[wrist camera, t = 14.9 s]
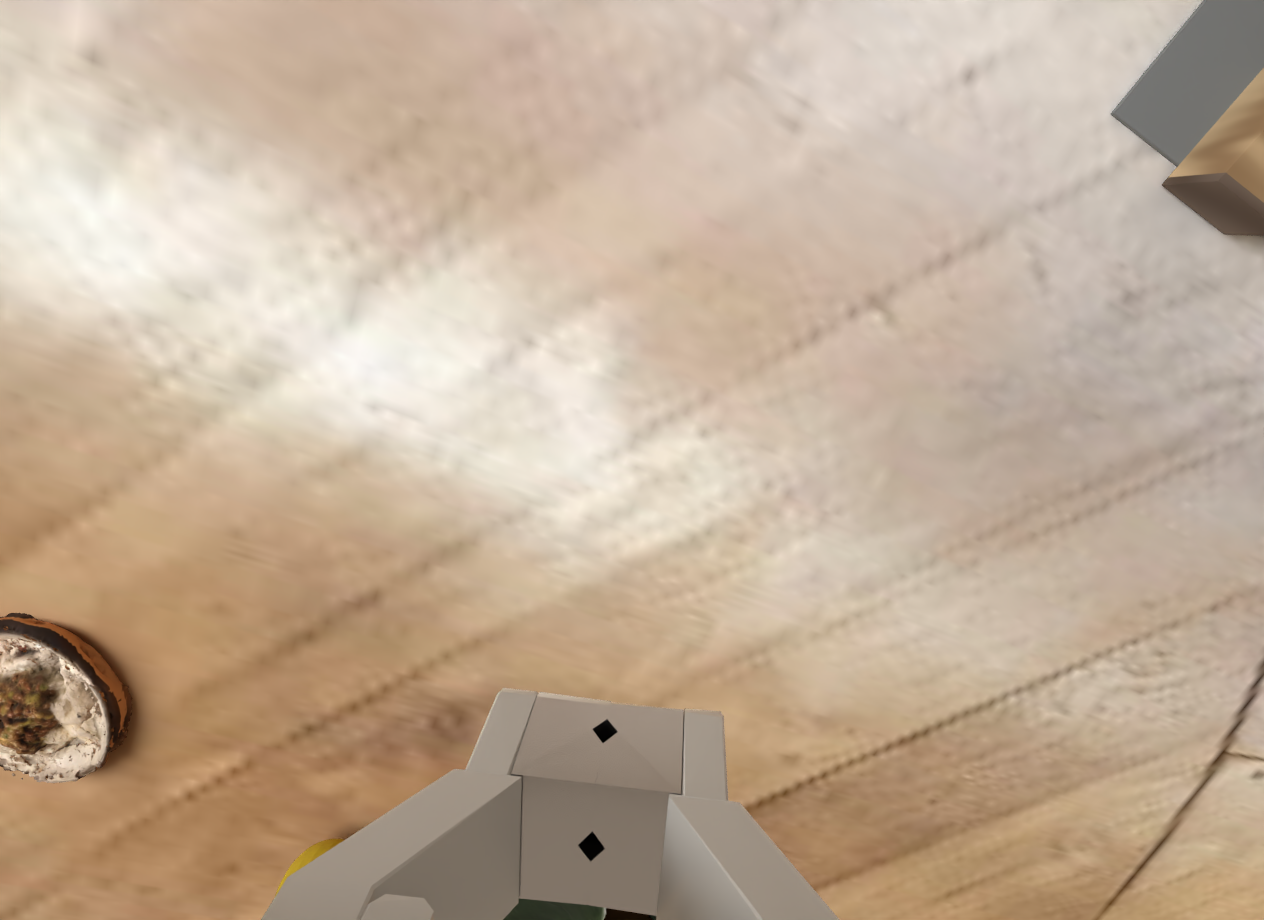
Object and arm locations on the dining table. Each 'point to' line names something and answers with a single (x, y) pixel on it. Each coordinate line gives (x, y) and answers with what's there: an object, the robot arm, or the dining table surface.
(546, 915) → the rose bouquet
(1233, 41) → the felt mat
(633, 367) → the dining table surface
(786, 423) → the dining table surface
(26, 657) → the cream pie
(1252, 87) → the oak block
